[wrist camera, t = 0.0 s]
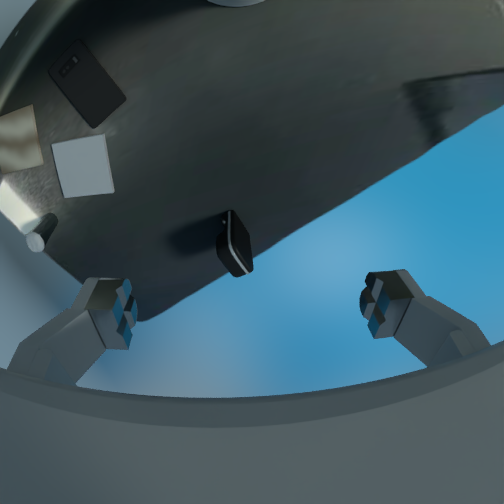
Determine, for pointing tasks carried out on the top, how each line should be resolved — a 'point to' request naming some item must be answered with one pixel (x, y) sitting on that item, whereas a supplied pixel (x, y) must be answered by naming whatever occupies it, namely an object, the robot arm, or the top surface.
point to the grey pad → (83, 166)
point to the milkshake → (41, 233)
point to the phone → (86, 84)
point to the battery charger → (234, 246)
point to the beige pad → (19, 141)
